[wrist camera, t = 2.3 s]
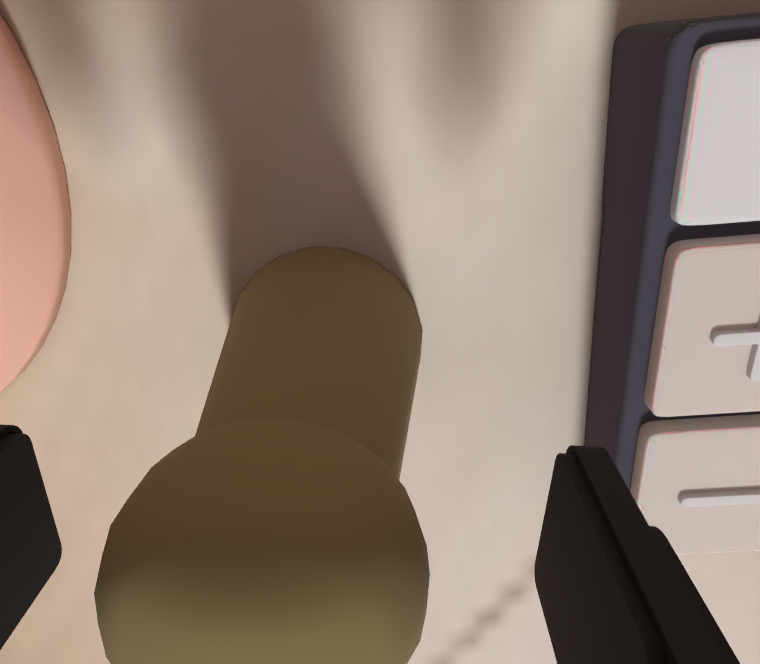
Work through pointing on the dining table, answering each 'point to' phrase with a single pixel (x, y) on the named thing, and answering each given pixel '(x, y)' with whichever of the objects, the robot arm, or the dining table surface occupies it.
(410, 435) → the dining table surface
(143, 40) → the dining table surface
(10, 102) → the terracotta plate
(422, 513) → the dining table surface
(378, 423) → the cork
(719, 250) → the calculator
